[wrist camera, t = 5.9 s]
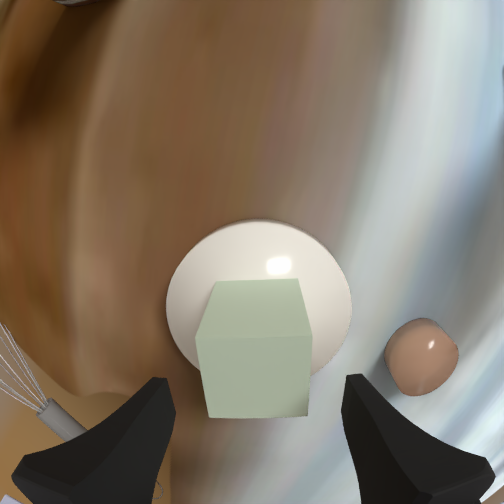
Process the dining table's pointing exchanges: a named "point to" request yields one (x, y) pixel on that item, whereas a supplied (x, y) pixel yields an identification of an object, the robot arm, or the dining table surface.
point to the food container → (75, 2)
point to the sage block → (255, 350)
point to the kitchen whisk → (48, 407)
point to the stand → (261, 268)
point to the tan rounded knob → (420, 357)
